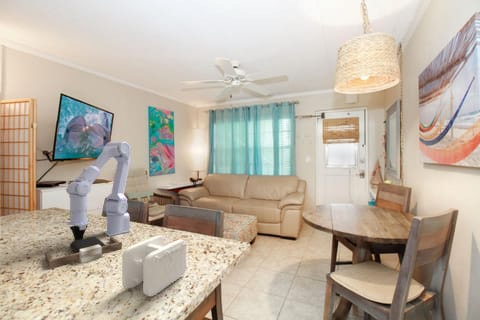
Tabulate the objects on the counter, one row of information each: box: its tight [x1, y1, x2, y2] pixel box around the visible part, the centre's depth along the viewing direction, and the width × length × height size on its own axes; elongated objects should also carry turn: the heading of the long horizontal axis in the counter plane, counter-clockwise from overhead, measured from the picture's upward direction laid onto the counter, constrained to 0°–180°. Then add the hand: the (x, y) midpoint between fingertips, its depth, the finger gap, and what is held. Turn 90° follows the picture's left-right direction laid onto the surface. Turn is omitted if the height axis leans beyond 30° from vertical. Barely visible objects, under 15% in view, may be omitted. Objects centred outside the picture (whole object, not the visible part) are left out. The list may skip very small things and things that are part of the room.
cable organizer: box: [121, 235, 187, 297], centre depth 65 cm, size 15×11×12 cm
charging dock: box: [44, 236, 123, 270], centre depth 83 cm, size 22×14×4 cm, turn 138°
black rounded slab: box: [69, 236, 106, 255], centre depth 87 cm, size 11×3×15 cm
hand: (78, 242), depth 92 cm, fingers closed, pressing on black rounded slab
